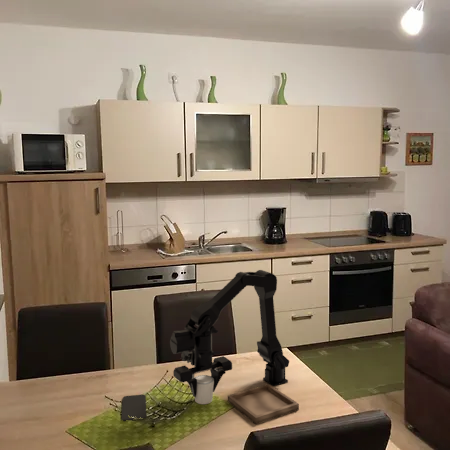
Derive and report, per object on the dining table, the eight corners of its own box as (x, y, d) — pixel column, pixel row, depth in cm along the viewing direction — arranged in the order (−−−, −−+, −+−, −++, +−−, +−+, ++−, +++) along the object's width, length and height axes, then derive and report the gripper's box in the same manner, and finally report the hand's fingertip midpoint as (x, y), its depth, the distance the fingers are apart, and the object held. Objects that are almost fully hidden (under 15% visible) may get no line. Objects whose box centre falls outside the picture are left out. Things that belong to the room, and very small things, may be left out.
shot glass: (211, 406, 150) (211, 384, 149) (190, 404, 151) (190, 383, 150) (216, 395, 157) (216, 375, 156) (196, 394, 158) (195, 373, 157)
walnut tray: (268, 389, 161) (268, 383, 161) (298, 409, 147) (298, 403, 147) (227, 401, 153) (227, 395, 152) (255, 424, 139) (255, 417, 139)
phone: (121, 420, 141) (122, 396, 156) (121, 422, 141) (122, 398, 156) (146, 417, 143) (145, 394, 157) (146, 420, 143) (145, 396, 157)
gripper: (215, 334, 163) (216, 378, 165) (165, 345, 154) (166, 391, 156) (233, 344, 154) (233, 390, 156) (180, 356, 144) (181, 405, 146)
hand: (203, 394), depth 154 cm, fingers closed on shot glass, 6 cm apart
